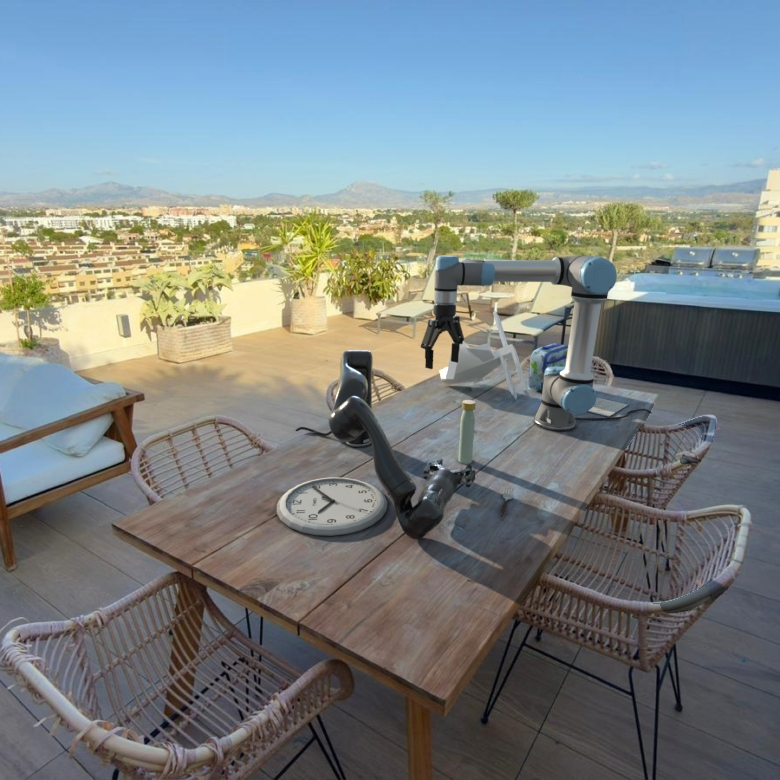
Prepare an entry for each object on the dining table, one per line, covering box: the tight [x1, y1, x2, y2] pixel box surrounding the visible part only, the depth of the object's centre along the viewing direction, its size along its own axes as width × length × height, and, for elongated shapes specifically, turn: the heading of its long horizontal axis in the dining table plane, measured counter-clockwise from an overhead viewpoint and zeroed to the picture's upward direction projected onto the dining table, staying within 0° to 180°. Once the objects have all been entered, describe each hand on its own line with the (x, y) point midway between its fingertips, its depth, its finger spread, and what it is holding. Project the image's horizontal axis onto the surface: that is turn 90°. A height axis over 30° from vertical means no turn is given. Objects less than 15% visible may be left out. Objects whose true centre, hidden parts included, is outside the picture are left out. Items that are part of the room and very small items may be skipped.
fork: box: [500, 486, 514, 518], centre depth 144 cm, size 3×16×2 cm, turn 160°
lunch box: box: [528, 343, 568, 392], centre depth 249 cm, size 26×11×21 cm, turn 134°
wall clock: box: [276, 476, 388, 537], centre depth 142 cm, size 30×2×30 cm
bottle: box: [457, 409, 476, 465], centre depth 168 cm, size 4×4×20 cm
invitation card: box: [587, 396, 629, 418], centre depth 226 cm, size 21×1×15 cm
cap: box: [461, 399, 476, 411], centre depth 166 cm, size 4×4×2 cm
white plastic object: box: [438, 310, 531, 400], centre depth 245 cm, size 37×45×31 cm
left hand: (455, 463), depth 156 cm, fingers open, 8 cm apart
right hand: (442, 365), depth 181 cm, fingers open, 13 cm apart
